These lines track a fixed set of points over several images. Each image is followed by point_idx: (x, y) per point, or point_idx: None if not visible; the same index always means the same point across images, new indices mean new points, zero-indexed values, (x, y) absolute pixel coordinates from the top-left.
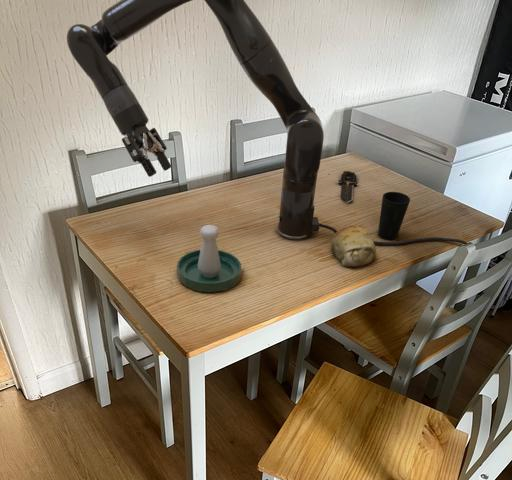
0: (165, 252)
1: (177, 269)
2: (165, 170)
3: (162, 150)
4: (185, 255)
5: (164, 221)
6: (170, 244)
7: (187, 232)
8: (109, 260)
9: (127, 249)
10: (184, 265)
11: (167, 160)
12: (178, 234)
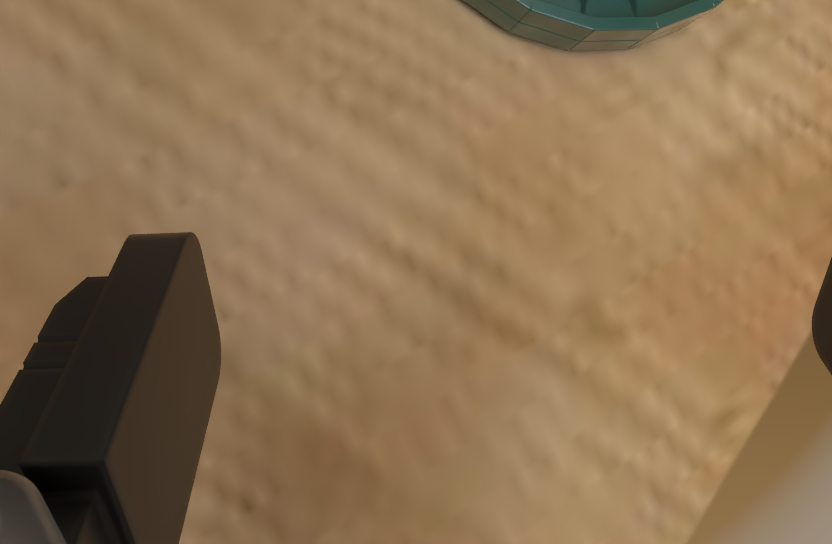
0: (450, 227)
1: (721, 1)
2: (218, 333)
3: (14, 540)
4: (566, 10)
5: None
6: (337, 245)
7: (111, 209)
8: (682, 499)
9: (524, 475)
10: (617, 2)
11: (130, 315)
12: None
